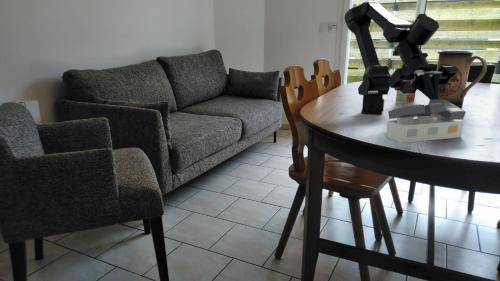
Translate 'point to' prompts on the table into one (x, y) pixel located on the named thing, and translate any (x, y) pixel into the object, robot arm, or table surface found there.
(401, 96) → the candy box
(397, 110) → the rocker
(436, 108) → the rocker
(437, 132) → the power strip
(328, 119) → the table surface
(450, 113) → the rocker
